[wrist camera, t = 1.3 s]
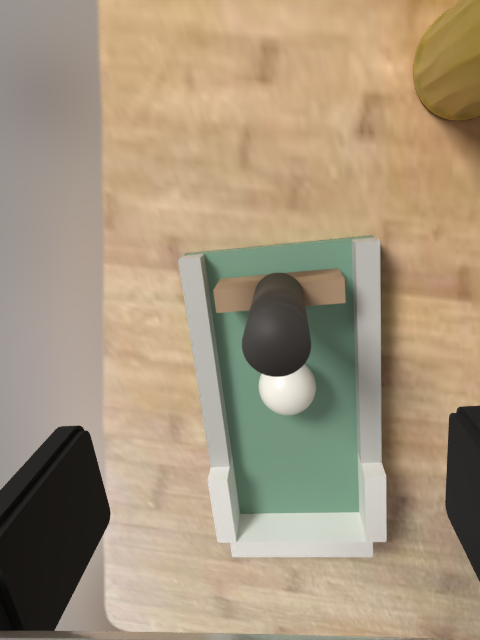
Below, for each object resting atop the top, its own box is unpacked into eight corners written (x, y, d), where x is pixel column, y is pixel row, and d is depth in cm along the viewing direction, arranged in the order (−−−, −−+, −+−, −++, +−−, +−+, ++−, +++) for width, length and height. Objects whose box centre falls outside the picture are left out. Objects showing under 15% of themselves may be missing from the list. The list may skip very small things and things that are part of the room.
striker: (337, 257, 28) (371, 305, 17) (339, 300, 28) (371, 371, 18) (219, 267, 29) (181, 319, 18) (224, 309, 29) (191, 381, 19)
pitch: (372, 235, 28) (385, 243, 24) (375, 517, 36) (386, 557, 32) (186, 253, 30) (172, 264, 26) (226, 518, 37) (220, 556, 34)
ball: (312, 347, 30) (316, 371, 26) (315, 396, 31) (319, 425, 28) (257, 350, 31) (254, 374, 27) (262, 398, 32) (259, 427, 28)
